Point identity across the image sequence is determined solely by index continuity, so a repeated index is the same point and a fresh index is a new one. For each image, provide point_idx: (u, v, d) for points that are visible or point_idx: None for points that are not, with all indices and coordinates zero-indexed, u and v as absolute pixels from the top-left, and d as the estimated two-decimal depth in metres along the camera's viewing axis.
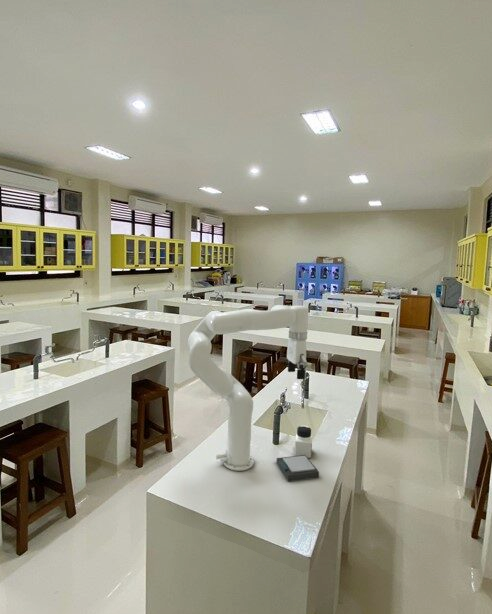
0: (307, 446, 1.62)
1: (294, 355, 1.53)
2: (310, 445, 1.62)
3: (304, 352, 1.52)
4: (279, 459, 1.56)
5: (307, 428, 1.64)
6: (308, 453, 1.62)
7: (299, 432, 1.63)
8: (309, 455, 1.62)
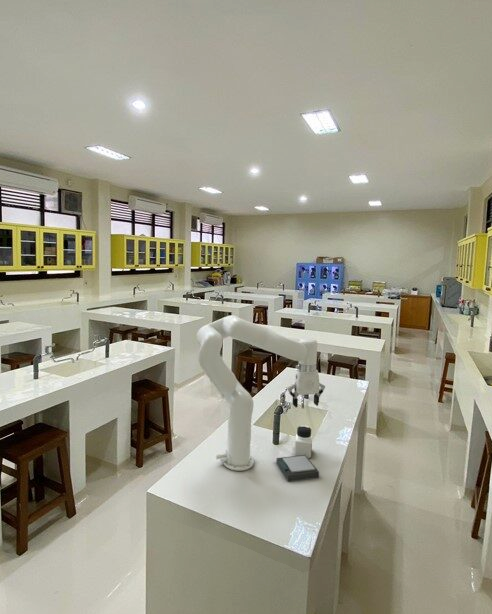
0: (307, 446, 1.62)
1: (317, 385, 1.60)
2: (310, 445, 1.62)
3: None
4: (279, 459, 1.56)
5: (307, 428, 1.64)
6: (308, 453, 1.62)
7: (299, 432, 1.63)
8: (309, 455, 1.62)
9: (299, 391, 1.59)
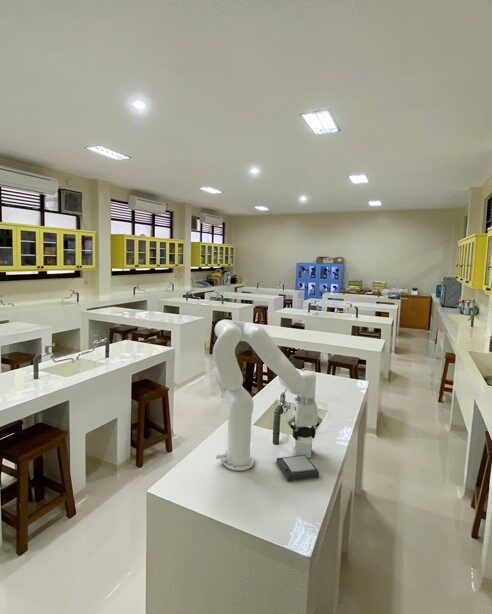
0: (307, 446, 1.62)
1: (315, 417, 1.62)
2: (310, 445, 1.62)
3: None
4: (279, 459, 1.56)
5: (307, 428, 1.64)
6: (308, 453, 1.62)
7: (299, 432, 1.63)
8: (309, 455, 1.62)
9: (297, 423, 1.61)
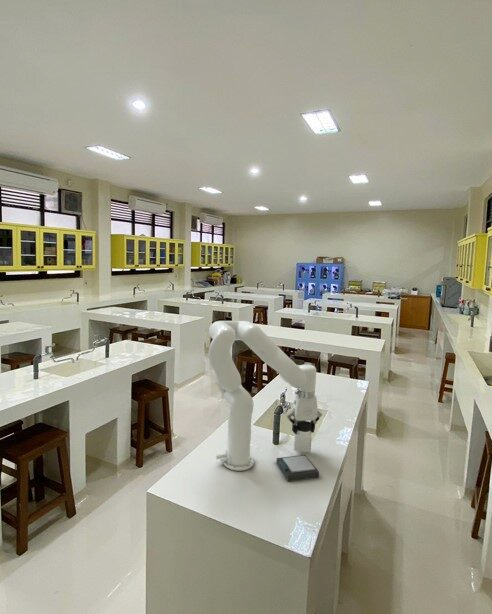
0: (306, 440, 1.62)
1: (315, 411, 1.62)
2: (309, 439, 1.61)
3: None
4: (279, 459, 1.56)
5: (307, 422, 1.64)
6: (307, 447, 1.62)
7: (299, 426, 1.63)
8: (308, 449, 1.62)
9: (297, 417, 1.60)
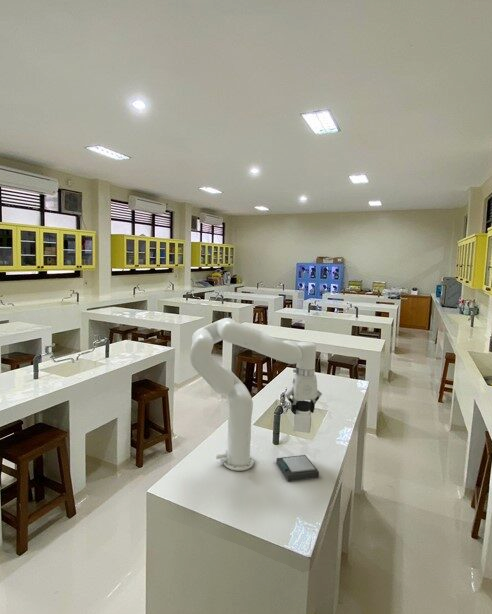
0: (306, 420, 1.55)
1: (315, 390, 1.55)
2: (309, 419, 1.54)
3: None
4: (279, 459, 1.56)
5: (306, 402, 1.57)
6: (307, 427, 1.55)
7: (298, 406, 1.56)
8: (308, 430, 1.55)
9: (296, 396, 1.53)
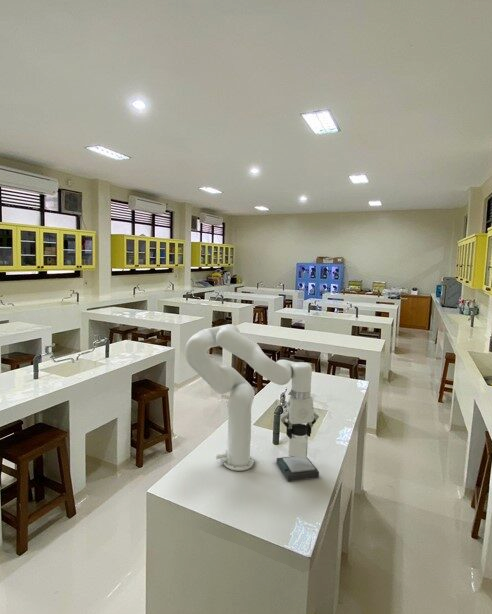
0: (302, 445, 1.48)
1: (311, 413, 1.48)
2: (305, 444, 1.47)
3: None
4: (279, 459, 1.56)
5: (302, 425, 1.50)
6: (303, 452, 1.48)
7: (293, 430, 1.49)
8: (304, 455, 1.48)
9: (292, 420, 1.46)
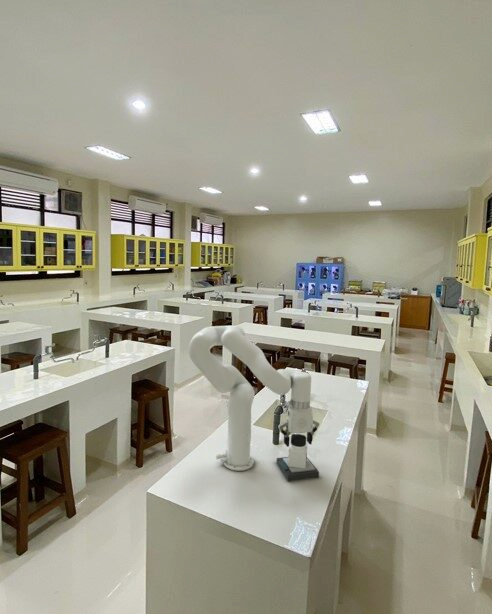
0: (301, 456, 1.48)
1: (310, 423, 1.49)
2: (305, 455, 1.48)
3: None
4: (279, 459, 1.56)
5: (302, 436, 1.50)
6: (303, 463, 1.48)
7: (293, 440, 1.49)
8: (304, 466, 1.48)
9: (291, 430, 1.47)
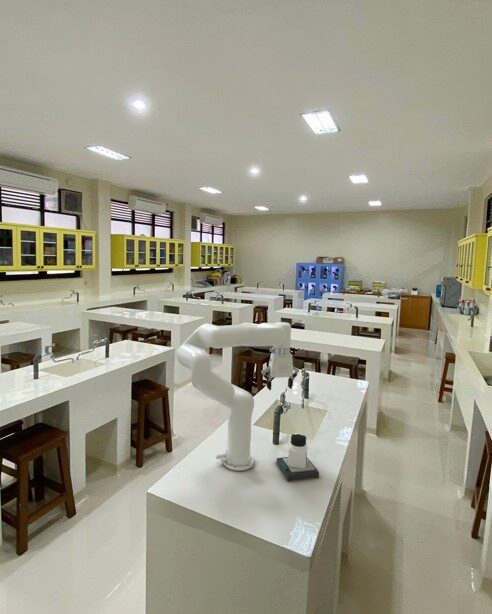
0: (301, 456, 1.48)
1: (290, 368, 1.63)
2: (305, 455, 1.48)
3: None
4: (279, 459, 1.56)
5: (302, 436, 1.50)
6: (303, 463, 1.48)
7: (293, 440, 1.49)
8: (304, 466, 1.48)
9: (273, 374, 1.61)
